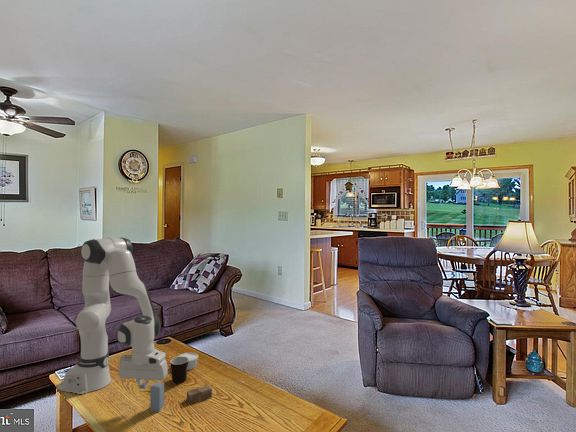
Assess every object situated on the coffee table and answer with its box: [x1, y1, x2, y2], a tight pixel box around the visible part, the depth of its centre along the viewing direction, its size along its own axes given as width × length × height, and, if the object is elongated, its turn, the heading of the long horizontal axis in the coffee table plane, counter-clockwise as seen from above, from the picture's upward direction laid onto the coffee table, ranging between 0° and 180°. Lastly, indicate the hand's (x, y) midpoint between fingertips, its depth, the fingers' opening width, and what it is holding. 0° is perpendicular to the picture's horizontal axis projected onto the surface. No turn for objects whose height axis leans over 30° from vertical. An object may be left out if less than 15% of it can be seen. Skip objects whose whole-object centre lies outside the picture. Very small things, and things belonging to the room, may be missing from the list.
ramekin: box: [176, 352, 199, 371], centre depth 174 cm, size 11×11×5 cm
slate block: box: [149, 381, 165, 412], centre depth 137 cm, size 4×4×10 cm
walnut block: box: [186, 384, 213, 405], centre depth 144 cm, size 4×4×10 cm
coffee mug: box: [169, 356, 189, 385], centre depth 160 cm, size 12×9×10 cm
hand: (143, 388), depth 137 cm, fingers closed
